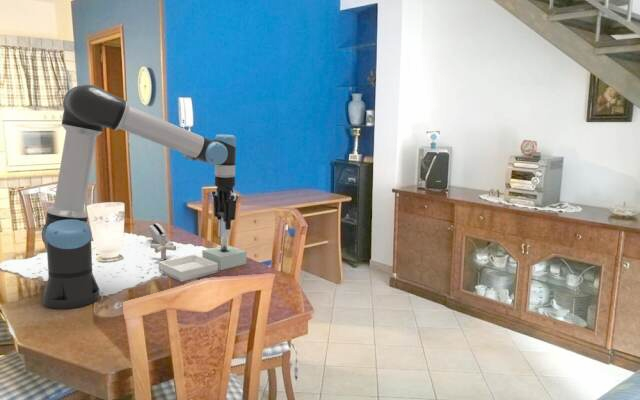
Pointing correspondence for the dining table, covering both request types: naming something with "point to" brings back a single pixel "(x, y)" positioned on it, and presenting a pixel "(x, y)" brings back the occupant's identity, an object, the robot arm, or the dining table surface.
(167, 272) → the tray
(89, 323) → the dining table surface
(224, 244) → the steel pin
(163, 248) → the pipe connector
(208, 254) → the block
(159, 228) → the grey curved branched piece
